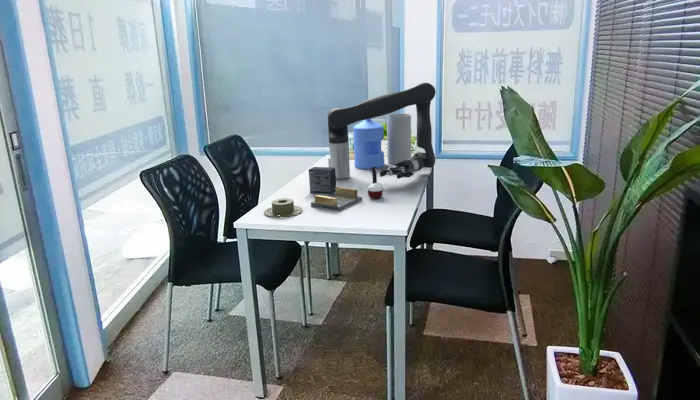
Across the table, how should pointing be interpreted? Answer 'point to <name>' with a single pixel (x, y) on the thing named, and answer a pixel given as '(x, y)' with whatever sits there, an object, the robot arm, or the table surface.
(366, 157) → the water jug
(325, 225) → the table surface
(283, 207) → the flange
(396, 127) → the cylinder vase
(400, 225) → the table surface
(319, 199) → the plate
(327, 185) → the small box
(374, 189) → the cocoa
